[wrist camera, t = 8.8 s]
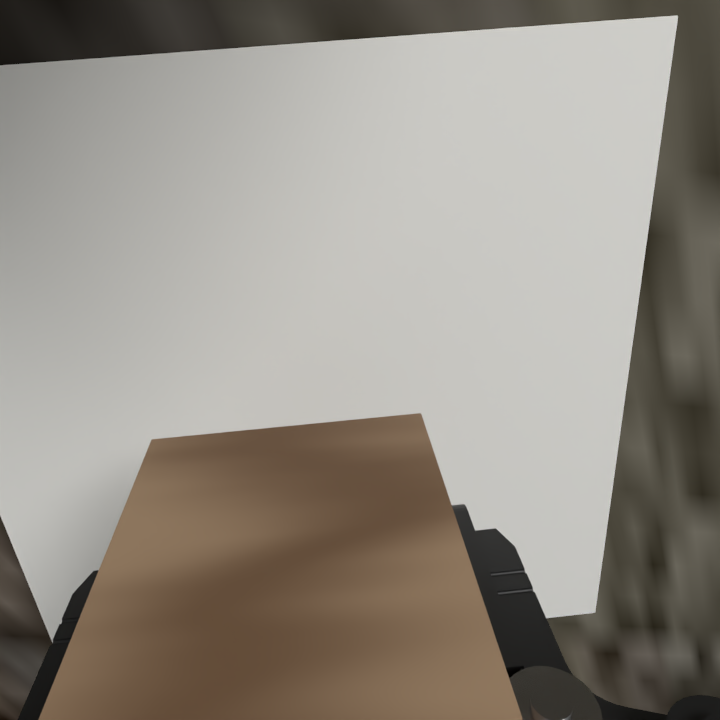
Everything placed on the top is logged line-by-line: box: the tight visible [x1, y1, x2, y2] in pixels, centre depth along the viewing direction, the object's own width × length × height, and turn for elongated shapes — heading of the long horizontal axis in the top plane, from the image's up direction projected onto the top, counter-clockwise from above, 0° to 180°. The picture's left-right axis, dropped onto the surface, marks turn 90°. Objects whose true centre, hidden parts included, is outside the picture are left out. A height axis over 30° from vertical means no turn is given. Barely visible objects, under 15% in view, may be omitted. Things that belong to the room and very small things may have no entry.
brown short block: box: [39, 413, 522, 720], centre depth 10 cm, size 5×5×6 cm
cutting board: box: [0, 16, 678, 643], centre depth 17 cm, size 18×18×1 cm
